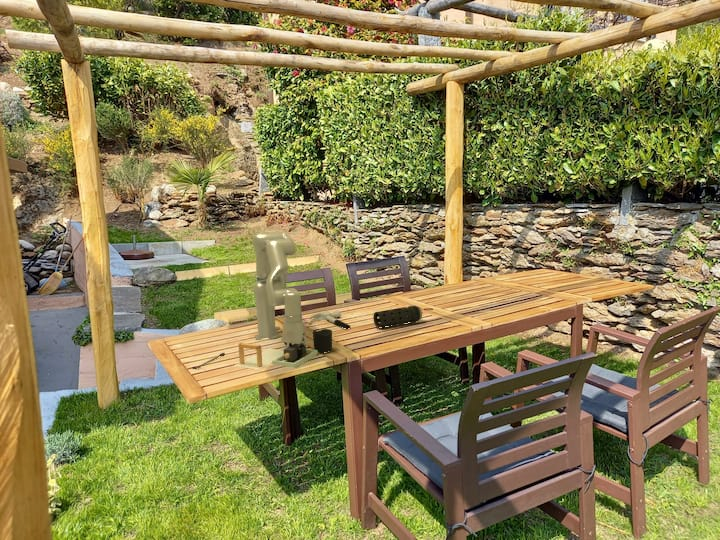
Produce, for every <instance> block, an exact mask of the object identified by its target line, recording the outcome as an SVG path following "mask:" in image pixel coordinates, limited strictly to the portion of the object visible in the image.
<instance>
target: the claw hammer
mask: <svg viewBox="0 0 720 540" xmlns="http://www.w3.org/2000/svg"><path fill="white" fill-rule="evenodd" d="M341 316H342V314H341V311H340V310H336V311H333V312H330V311H329V310H325V311H320V312H316V313H314V314H312V315H310V316H309V317H308V319H309V320H310V321H309V322H308V324H309V323H311V322H313V321H317V320H329V321H328V322H331V324H332V323H333V324H334V323H335V324H334V325H335V326H338V325H339V326H338V327H340V326H341V327H340V328H342V327H343V328H342V329H344V328H346V329H348V328H350V329H351V325H350V324H348V323H346V322H343V321H341V320H340V319H338V318H337V317H340V318H341ZM335 317H336V318H335ZM317 322H318V321H317ZM313 323H314V322H313ZM311 324H312V323H311ZM346 329H345V330H346Z"/></svg>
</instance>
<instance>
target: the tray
mask: <svg viewBox="0 0 720 540" xmlns="http://www.w3.org/2000/svg"><path fill="white" fill-rule="evenodd" d="M318 353H319V352H318V350H314V349H311V348H310V349H309V348H306V354H307V355H305V356H302V357H300V358H299V360H296V361H295V362H292V361H285V360H284V355H282V356H280V357H278V358H276V359H274V360H272V363H271V364H272V365H274V366H275V365H276V366H281V367H282V366H283V367H287V368H289V367H290V368H296V367H297V366H299V365H301V364H302V365H304V364H305V363H304V362H306V361H307V362H309V361H310V360H309V359H311V358H312V359H314V358H315V357H314V356H316V355H317V354H318ZM318 355H319V354H318ZM313 357H314V358H313ZM316 357H317V356H316ZM312 359H311V360H312ZM308 360H309V361H308ZM307 362H306V363H307ZM303 363H304V364H303ZM302 365H301V366H302ZM299 367H300V366H299ZM296 369H297V368H296Z"/></svg>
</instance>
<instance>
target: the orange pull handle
mask: <svg viewBox="0 0 720 540" xmlns="http://www.w3.org/2000/svg"><path fill="white" fill-rule="evenodd" d="M237 346H238V358H239V360H238V361H239V363H240V364H242V363H244V362H245V360H246V359H245V349H250V350H255V351H256V354H257V366H259V367H260V366H262V351H263V350H262V345H261V344H253V343H245V342H240V343H238V345H237Z"/></svg>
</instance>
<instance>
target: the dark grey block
mask: <svg viewBox="0 0 720 540" xmlns="http://www.w3.org/2000/svg"><path fill="white" fill-rule="evenodd" d="M306 349H307V345H305V346H304V347H303V348H302V350H303V355H305V354H307V353H306ZM283 350H284V359H283V361H286V362H294V361H295V360H297V359H299V358H298V354H297V350H298V346H297V344H293V343H292V345H291V346H289V347H286V348H284V349H283ZM303 355H302V356H303Z"/></svg>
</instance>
